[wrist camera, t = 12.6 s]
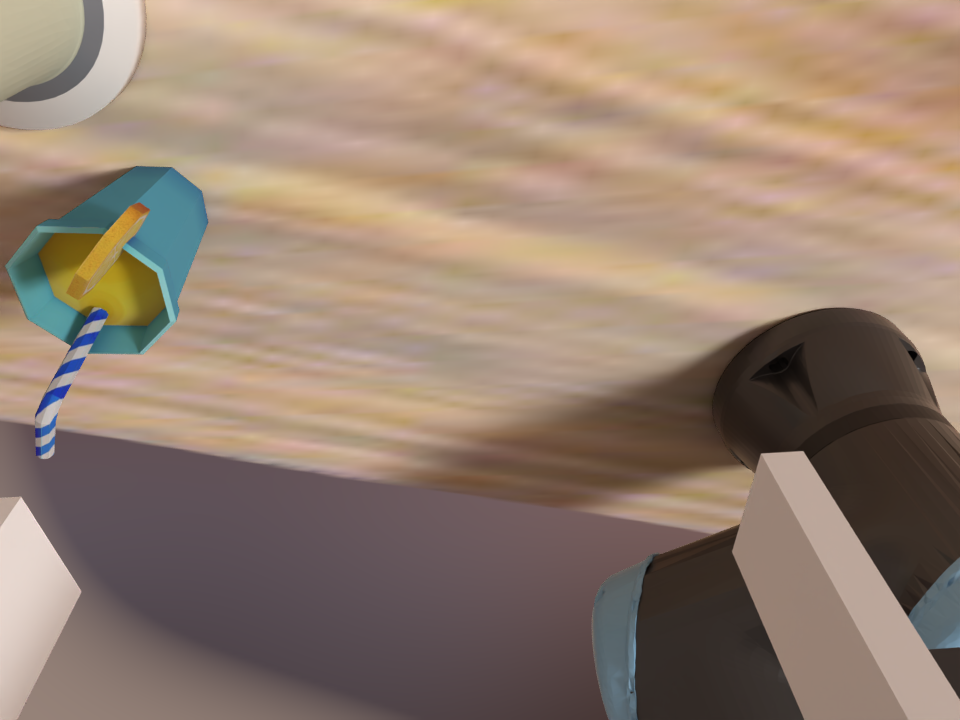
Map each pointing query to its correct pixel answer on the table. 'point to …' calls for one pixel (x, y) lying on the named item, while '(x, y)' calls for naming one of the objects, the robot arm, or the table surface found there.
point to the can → (37, 41)
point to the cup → (108, 274)
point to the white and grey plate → (85, 70)
